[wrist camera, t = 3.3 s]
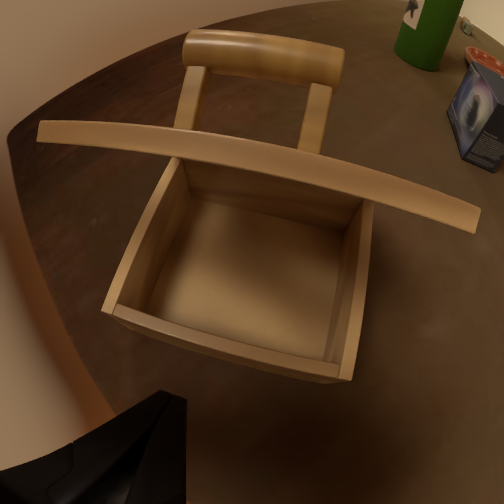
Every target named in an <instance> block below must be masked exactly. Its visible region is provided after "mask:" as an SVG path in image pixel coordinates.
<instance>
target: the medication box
mask: <svg viewBox="0 0 504 504" xmlns="http://www.w3.org/2000/svg"><path fill="white" fill-rule="evenodd" d="M460 25H461V28H462V30H463V32H464V33H466V34H467V35H470V33H471V31H472V30H473V26H472V24H471V22H470V21H469V20H468V19H467V18H465V17H463V18H462V20H461V22H460Z"/></svg>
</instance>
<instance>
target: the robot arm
mask: <svg viewBox="0 0 504 504" xmlns="http://www.w3.org/2000/svg"><path fill="white" fill-rule="evenodd" d="M187 401H188V400H187V398H186V397H183V396H180V395H177V394H175V395H174V394H173V393H172V392H169V391H166V390H163V389H161V390H158V391H157V392H155V393H154V394H152V395H151V396H149V397H147V398H146V399H144V400H143V401H141V402H139V403H138V404H136V405H135V406H133V407H131V408H130V409H128V410H126V411H125V412H123V413H121V414H120V415H118V416H116V417H115V418H113V419H111V420H110V421H108V422H106V423H105V424H103V425H101V426H100V427H98V428H96V429H94V430H93V431H91V432H89V433H87V434H86V435H84V436H82V437H80V438H78V439H77V440H75V441H73V443H69V444H67V445H66V446H64V447H62V448H60V449H58V450H56V451H54V452H52V453H50V454H48V455H45V456H43V457H40V458H38V459H35V460H32V461H29V462H27V463H24V464H21V465H18V466H15V467H12V468H8V469H5V470H2V471H0V504H186V431H187Z"/></svg>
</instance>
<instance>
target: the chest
mask: <svg viewBox="0 0 504 504" xmlns="http://www.w3.org/2000/svg"><path fill="white" fill-rule="evenodd" d="M372 220H373V201H370V200H366V199H363V198H359V197H356V196H352V195H349V194H345V193H341V192H337V191H334V190H330V189H326V188H322V187H318V186H314V185H310V184H306V183H302V182H298V181H293V180H289V179H285V178H280V177H276V176H271V175H267V174H262V173H258V172H253V171H248V170H243V169H238V168H233V167H228V166H223V165H217V164H212V163H206V162H201V161H195V160H189V159H183V158H177V157H172V159H171V161H170V162H169V164H168V166H167V168H166V170H165V172H164V173H163V175H162V177H161V179H160V181H159V183H158V185H157V187H156V189H155V190H154V192H153V194H152V196H151V198H150V200H149V202H148V204H147V206H146V208H145V210H144V212H143V214H142V217H141V219H140V221H139V223H138V225H137V227H136V229H135V231H134V233H133V236H132V238H131V240H130V242H129V244H128V247H127V249H126V251H125V253H124V256H123V258H122V260H121V263H120V265H119V267H118V270H117V272H116V274H115V277H114V279H113V282H112V284H111V287H110V289H109V292H108V294H107V297H106V299H105V302H104V304H103V307H102V310H101V311H102V312H104V313H105V314H107V315H108V316H110V317H111V318H113V319H115V320H116V321H118V322H119V323H121V324H123V325H124V326H126V327H127V328H129V329H131V330H132V331H134V332H137V333H140V334H143V335H145V336H148V337H151V338H154V339H157V340H160V341H163V342H166V343H168V344H171V345H175V346H178V347H181V348H184V349H187V350H190V351H193V352H197V353H200V354H203V355H207V356H210V357H213V358H217V359H220V360H224V361H227V362H231V363H235V364H238V365H242V366H246V367H250V368H254V369H258V370H262V371H266V372H270V373H275V374H279V375H283V376H288V377H292V378H297V379H302V380H307V381H312V382H317V383H322V384H330V383H338V382H345V381H351V380H352V376H353V371H354V366H355V361H356V355H357V350H358V344H359V338H360V332H361V325H362V319H363V312H364V304H365V297H366V289H367V280H368V270H369V260H370V249H371V236H372Z"/></svg>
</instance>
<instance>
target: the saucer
mask: <svg viewBox="0 0 504 504" xmlns="http://www.w3.org/2000/svg"><path fill="white" fill-rule="evenodd" d="M464 55H465V58H466V59H467V61H468V62H469V65H470V64H471V61H472V60H473V61H475V62H477V63H479V64H481V65H483V66H485V67H487V68H489V69H491V70H492V71H494V72H496V73H498V74H499V75H501V76H503V77H504V64H503V63H501V62H500V61H499V60H497V59H496V58H494V57H493V56H491V55H489V54H488V53H486V52H484V51H482V50H480V49H477V48H475V47H471V46H468V47H467V48H466V50H465V52H464Z"/></svg>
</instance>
